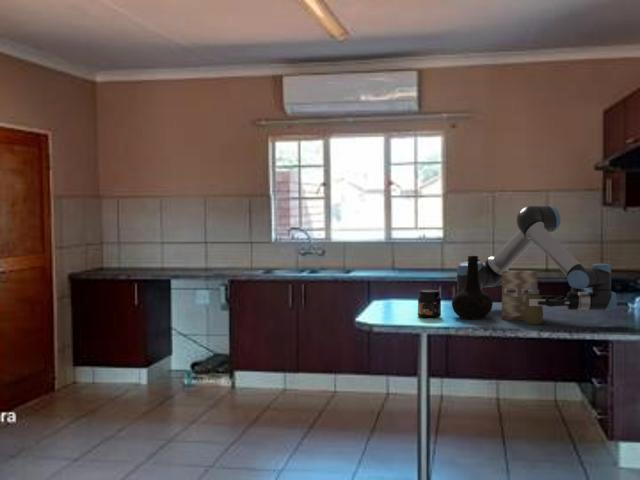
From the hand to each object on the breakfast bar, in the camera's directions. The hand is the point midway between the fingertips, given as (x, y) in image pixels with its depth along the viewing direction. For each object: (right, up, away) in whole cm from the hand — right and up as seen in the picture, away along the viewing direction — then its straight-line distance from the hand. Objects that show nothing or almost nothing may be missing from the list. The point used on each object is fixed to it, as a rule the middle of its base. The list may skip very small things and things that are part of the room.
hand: (526, 300), depth 321 cm
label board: (+1, -9, +13) cm, 16 cm away
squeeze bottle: (+3, -10, 0) cm, 11 cm away
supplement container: (-38, -9, +21) cm, 45 cm away
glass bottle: (-20, -9, +18) cm, 28 cm away
